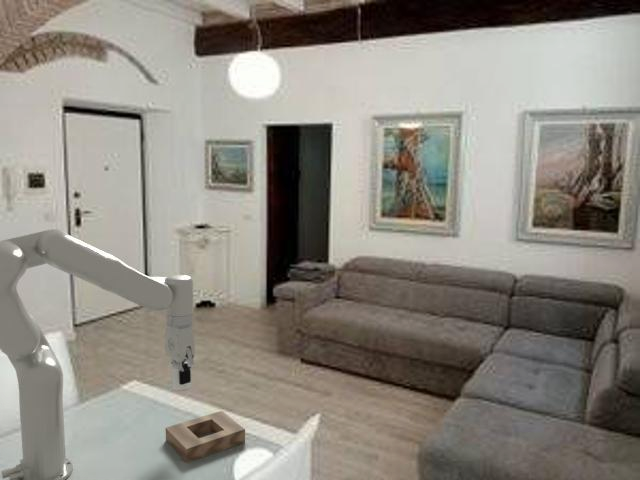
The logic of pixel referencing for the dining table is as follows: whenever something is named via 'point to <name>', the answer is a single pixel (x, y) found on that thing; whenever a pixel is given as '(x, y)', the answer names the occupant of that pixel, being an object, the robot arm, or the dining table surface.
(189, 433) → the socket block
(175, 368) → the eye dropper bottle
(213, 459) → the dining table surface
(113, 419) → the dining table surface
